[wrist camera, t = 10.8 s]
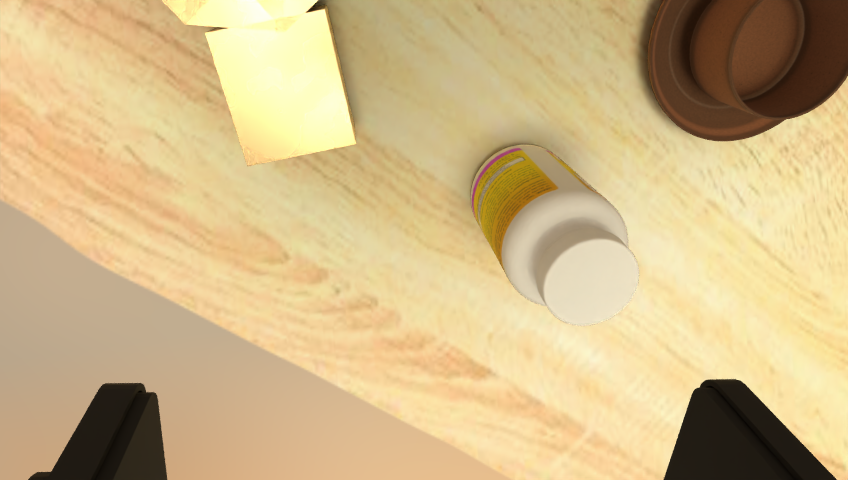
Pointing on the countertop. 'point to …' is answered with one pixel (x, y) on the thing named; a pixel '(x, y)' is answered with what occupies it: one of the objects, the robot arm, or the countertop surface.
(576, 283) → the supplement bottle
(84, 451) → the robot arm
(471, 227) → the countertop surface
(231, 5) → the octagonal two-tone ring
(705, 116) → the cup and saucer
